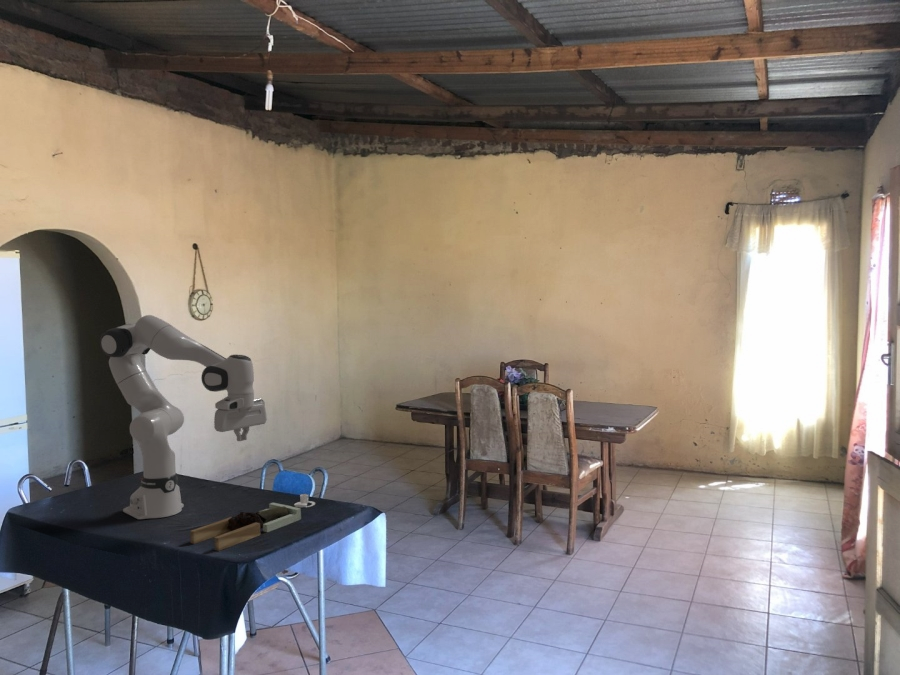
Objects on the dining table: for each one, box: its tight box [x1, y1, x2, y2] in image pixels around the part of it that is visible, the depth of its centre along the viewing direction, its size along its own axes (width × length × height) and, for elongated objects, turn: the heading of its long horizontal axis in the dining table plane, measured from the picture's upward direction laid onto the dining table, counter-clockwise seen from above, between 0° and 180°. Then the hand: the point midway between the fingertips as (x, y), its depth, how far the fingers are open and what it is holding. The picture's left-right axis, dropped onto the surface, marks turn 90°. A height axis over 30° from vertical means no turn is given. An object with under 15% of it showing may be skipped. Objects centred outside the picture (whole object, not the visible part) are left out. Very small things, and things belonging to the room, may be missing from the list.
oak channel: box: [189, 516, 261, 552], centre depth 229 cm, size 14×17×4 cm
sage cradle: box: [258, 502, 302, 533], centre depth 246 cm, size 14×16×4 cm
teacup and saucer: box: [293, 493, 316, 509], centre depth 266 cm, size 9×8×4 cm
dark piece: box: [227, 506, 288, 532], centre depth 241 cm, size 21×8×7 cm, turn 133°
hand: (241, 440), depth 243 cm, fingers closed
